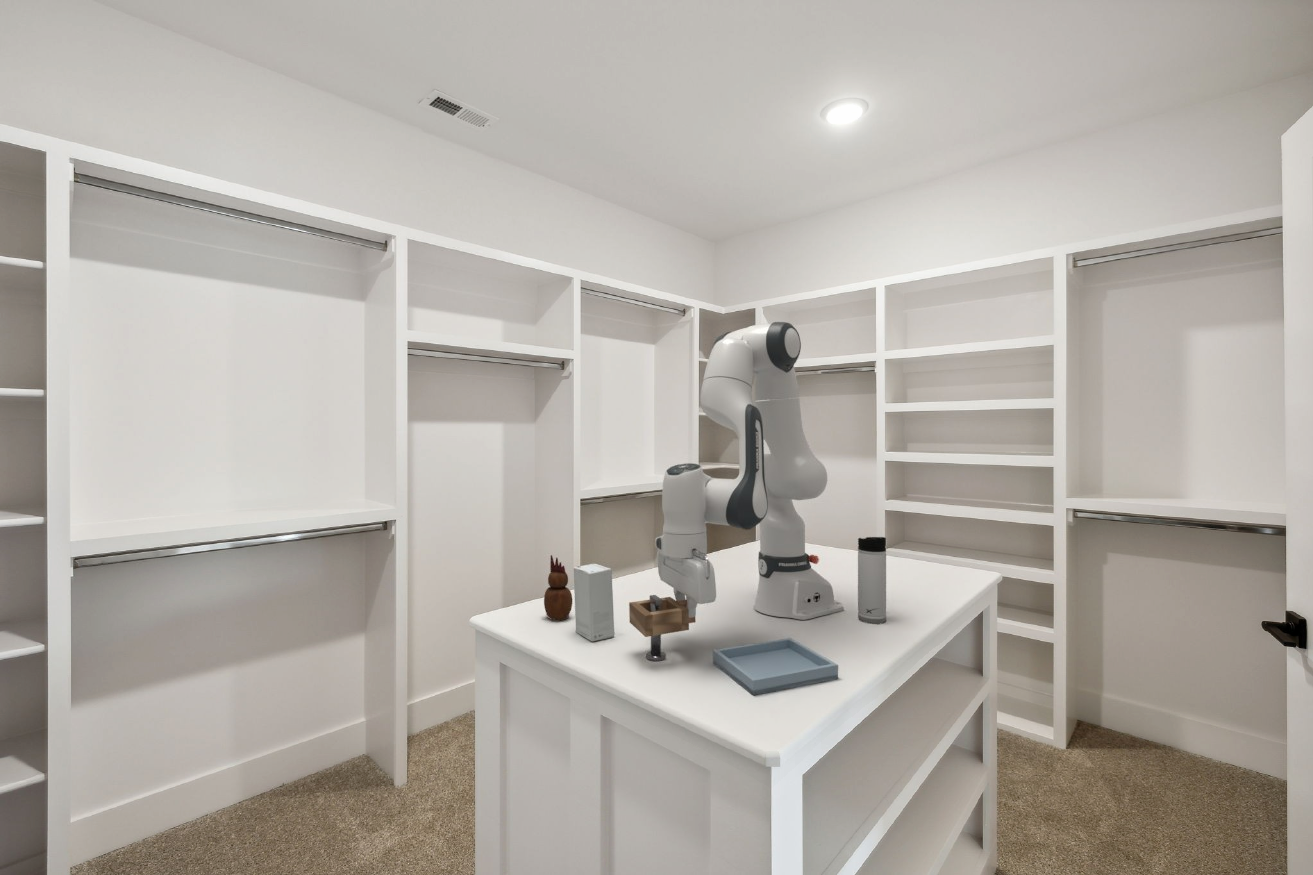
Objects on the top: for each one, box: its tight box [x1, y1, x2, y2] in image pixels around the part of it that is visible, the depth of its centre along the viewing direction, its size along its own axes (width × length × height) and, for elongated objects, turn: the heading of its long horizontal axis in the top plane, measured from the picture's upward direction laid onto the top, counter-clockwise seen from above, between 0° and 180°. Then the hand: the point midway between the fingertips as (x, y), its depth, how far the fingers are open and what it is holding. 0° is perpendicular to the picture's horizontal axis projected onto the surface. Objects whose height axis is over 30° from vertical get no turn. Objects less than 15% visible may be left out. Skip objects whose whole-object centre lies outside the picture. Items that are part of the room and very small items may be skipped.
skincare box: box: [573, 563, 615, 642], centre depth 124 cm, size 8×6×15 cm
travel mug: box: [857, 536, 887, 625], centre depth 133 cm, size 6×7×20 cm
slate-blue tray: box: [712, 637, 839, 696], centre depth 105 cm, size 18×15×2 cm
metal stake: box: [645, 594, 667, 662], centre depth 111 cm, size 4×4×12 cm
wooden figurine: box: [543, 554, 573, 621], centre depth 135 cm, size 7×6×15 cm
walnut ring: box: [628, 596, 697, 638], centre depth 112 cm, size 12×9×4 cm
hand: (686, 613), depth 113 cm, fingers closed on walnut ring, 2 cm apart
